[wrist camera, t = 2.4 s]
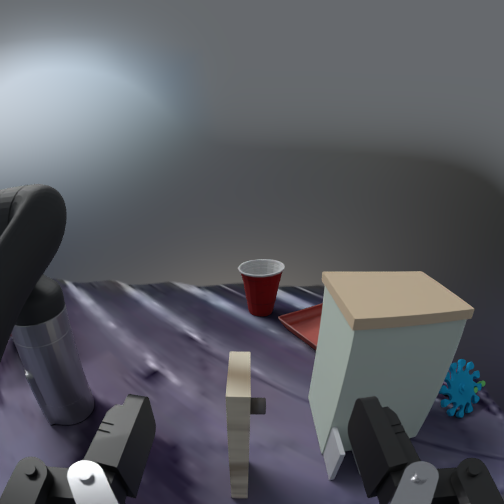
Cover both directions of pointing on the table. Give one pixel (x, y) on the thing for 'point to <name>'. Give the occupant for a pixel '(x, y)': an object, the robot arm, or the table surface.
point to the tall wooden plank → (240, 420)
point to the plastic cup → (261, 284)
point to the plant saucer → (304, 324)
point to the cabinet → (381, 350)
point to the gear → (461, 388)
